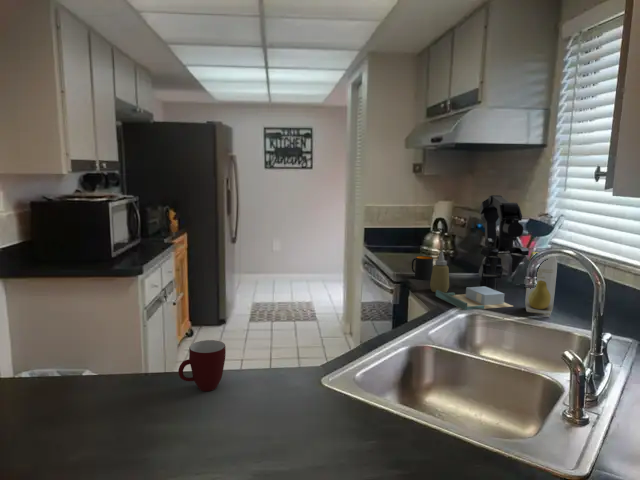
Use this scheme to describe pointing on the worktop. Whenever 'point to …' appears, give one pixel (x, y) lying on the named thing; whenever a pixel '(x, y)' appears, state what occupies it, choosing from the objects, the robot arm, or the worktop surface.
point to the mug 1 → (205, 364)
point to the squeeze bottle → (440, 275)
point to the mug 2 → (423, 267)
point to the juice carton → (542, 289)
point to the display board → (466, 301)
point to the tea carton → (485, 295)
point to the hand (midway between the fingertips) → (503, 272)
